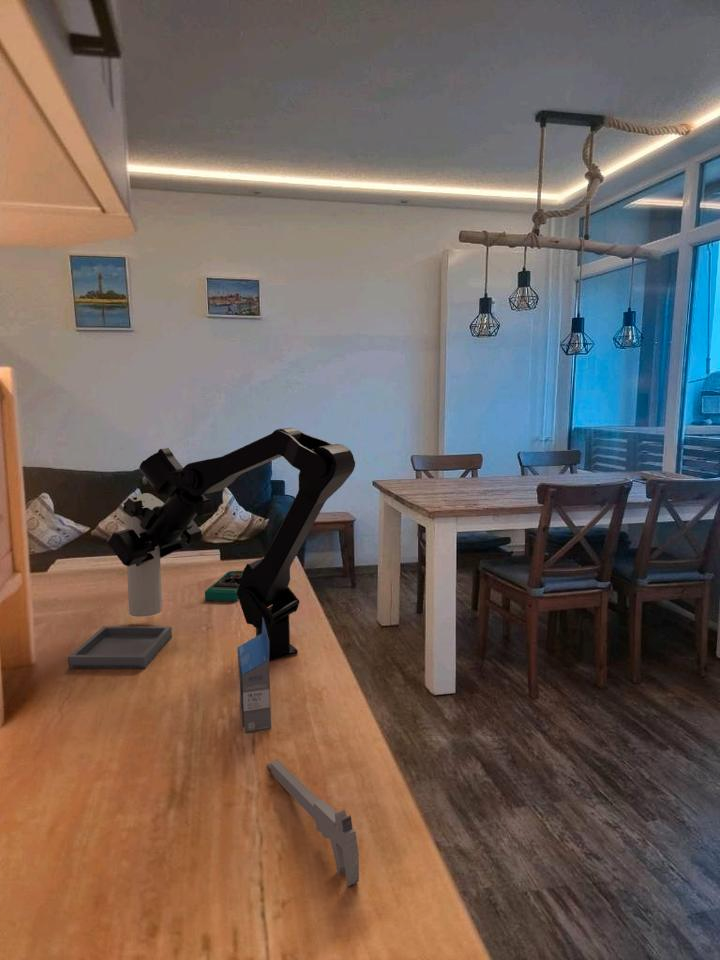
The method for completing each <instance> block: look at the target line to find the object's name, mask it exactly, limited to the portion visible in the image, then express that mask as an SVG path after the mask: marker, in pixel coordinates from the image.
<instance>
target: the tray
mask: <svg viewBox="0 0 720 960" xmlns="http://www.w3.org/2000/svg"><path fill="white" fill-rule="evenodd" d="M171 638H173V629H172V626H169V625H168V626H165V625H164V626H158V625H157V626H152V625H150V626H145V625H144V626H143V625H142V626H135V625H134V626H130V625H129V626H123V625H121V626H120V625H119V626H118V625H117V626H115V625H113V626H111V625H110V626H109V625H108V626H107V625H105V626H102V627H101V628H100V629H99V630H98V631H96V632H95V633H94V634H92V635H91V636H90V637H89V638H88V639H87V640H86V641H84V642H83V643H82V644H81V645H79V646H78V648H76V649H75V650H74V651H73V652H71V653H70V654H69V655H68V656H67V665H68V666H67V667H68V669H72V670H73V669H74V670H75V669H76V670H77V669H79V670H81V669H84V670H86V669H88V670H89V669H90V670H91V669H92V670H94V669H97V670H118V669H119V670H122V669H123V670H146V668H147V667H148V666H149V665H150V664H151V663H152V662H153V660H154V659H155V658H156V657H157V656H158V654H159V653H160V652H161V651H162V650H163V648H164V647H165V646H166V645H167V644H168V642H169V641H170V640H171Z"/></svg>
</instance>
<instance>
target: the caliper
mask: <svg viewBox="0 0 720 960" xmlns="http://www.w3.org/2000/svg"><path fill="white" fill-rule="evenodd" d="M266 766H267V767H268V769H269V770H270V772H271V774H272V776H273V777H274V779H275V780H276V781H277V782H278V783H279V784H280V785H281V786H282V788H284V790H286V791H287V792H288V793H289V794H290V796H291V797H292V798H293V799H294V800H295V801H296V802H297V803H298V804H299V805H300V806H301V807H302V809H303V810H305V812H306V813H308V815H310V817H311V818H312V819H313V820H314V821H315V828H316V830H317V832H319V833H321V836H323V838H326V839H329V840H330V842H331V848H332V852H333V853H332V854H333V856H334V861H335V866H336V869H337V873H338V874H339V876H342V875H344V874H345V881H346V886H347V887H350V886H351V885H355V884H357V883H358V882H360V865H359V863H360V862H359V861H360V859H359V848H358V842H357V841H358V840H357V833H356V830H355V829H354V828H353V823H352V816H351V814H349V815H348V816H347V814H346V810H345V809H341V810H340V811H336V810H335V809H334V808H333V807H332V806H331V805H330V804H328V803H327V802H326V801H325V800H324V799H319V798H318V797H317V796H316V795H315V794H314V793H313V792H312V791H311V790H310V789H309V788H308V787H307V786H305V784H304V783H303V782H302V781H300V780H299V779H298V777H296V776H295V775H294V774H293V772H292V771H290V769H288V768H287V767H286V766H285V765H284V764H283V763H282V762H281V761H280V760H279V759H278V760H274V761H271V762H269V763H267V764H266Z"/></svg>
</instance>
